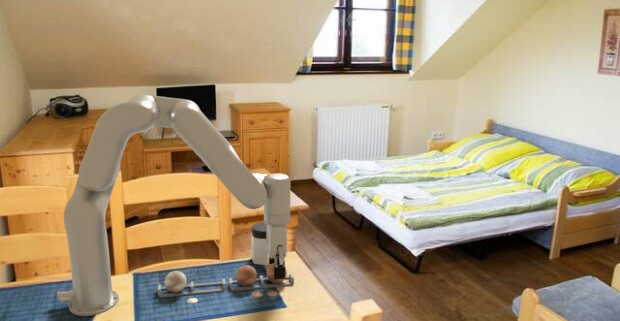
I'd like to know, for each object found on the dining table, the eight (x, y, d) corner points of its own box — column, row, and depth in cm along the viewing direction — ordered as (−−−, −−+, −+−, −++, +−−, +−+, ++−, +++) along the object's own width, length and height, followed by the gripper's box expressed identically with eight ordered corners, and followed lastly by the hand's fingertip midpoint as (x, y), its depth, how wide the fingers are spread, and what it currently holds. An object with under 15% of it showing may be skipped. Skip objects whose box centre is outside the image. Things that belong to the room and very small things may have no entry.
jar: (249, 256, 169) (249, 222, 166) (273, 253, 171) (273, 220, 168) (254, 268, 161) (254, 233, 158) (279, 265, 163) (280, 230, 160)
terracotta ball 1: (237, 290, 146) (236, 271, 144) (235, 280, 151) (235, 262, 150) (258, 288, 147) (257, 269, 146) (255, 279, 153) (255, 260, 151)
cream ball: (164, 297, 141) (163, 277, 140) (165, 287, 147) (164, 268, 146) (186, 295, 143) (185, 276, 141) (187, 285, 148) (186, 266, 147)
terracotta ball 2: (268, 287, 148) (268, 269, 146) (265, 278, 153) (265, 259, 152) (288, 286, 149) (288, 267, 147) (284, 276, 155) (285, 258, 153)
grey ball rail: (157, 299, 141) (157, 291, 141) (158, 290, 146) (158, 282, 146) (294, 286, 150) (294, 279, 149) (291, 278, 155) (291, 271, 154)
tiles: (175, 308, 137) (175, 306, 137) (175, 300, 141) (175, 298, 141) (281, 297, 144) (281, 295, 143) (279, 290, 147) (279, 289, 147)
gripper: (260, 207, 153) (260, 259, 158) (268, 228, 137) (268, 286, 141) (284, 205, 155) (284, 257, 159) (295, 227, 139) (295, 283, 143)
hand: (276, 271), depth 150 cm, fingers open, 9 cm apart
